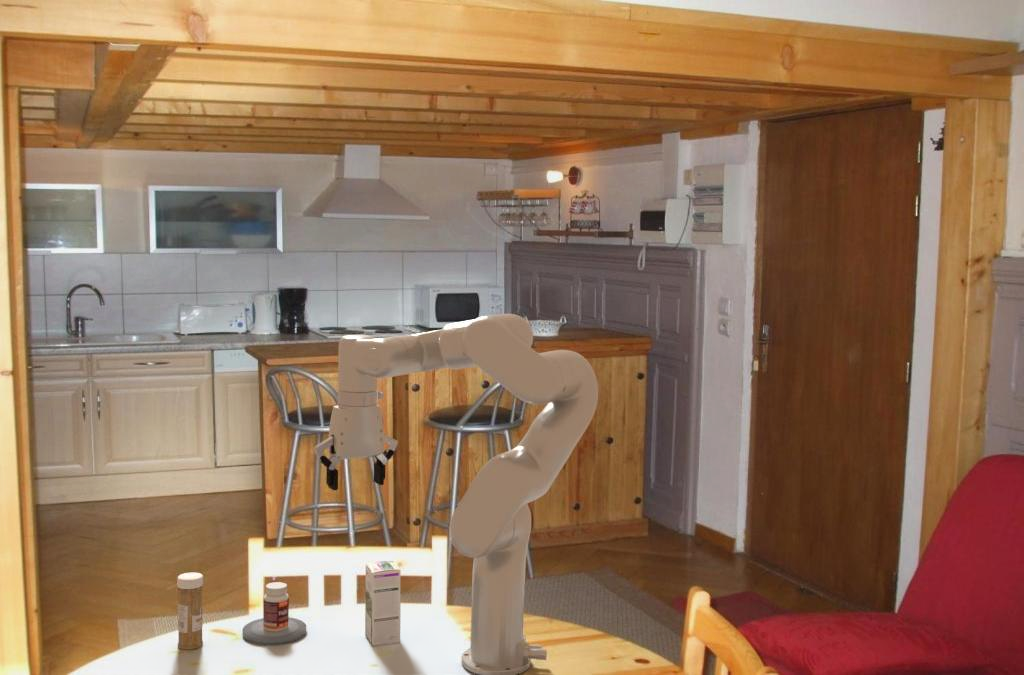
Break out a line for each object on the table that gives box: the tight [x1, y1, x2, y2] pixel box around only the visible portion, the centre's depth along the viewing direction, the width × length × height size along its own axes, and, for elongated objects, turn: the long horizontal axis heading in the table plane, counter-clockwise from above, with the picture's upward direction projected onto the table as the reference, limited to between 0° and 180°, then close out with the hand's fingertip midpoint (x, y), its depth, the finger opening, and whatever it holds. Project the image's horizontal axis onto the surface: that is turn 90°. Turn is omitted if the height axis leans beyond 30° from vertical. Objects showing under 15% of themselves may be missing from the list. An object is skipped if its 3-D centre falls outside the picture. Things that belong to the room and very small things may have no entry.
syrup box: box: [364, 560, 401, 647], centre depth 197 cm, size 6×6×14 cm
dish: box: [242, 616, 307, 646], centre depth 199 cm, size 12×12×1 cm
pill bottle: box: [262, 581, 290, 632], centre depth 199 cm, size 5×5×8 cm
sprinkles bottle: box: [176, 571, 204, 651], centre depth 191 cm, size 5×5×14 cm
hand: (356, 486), depth 201 cm, fingers open, 9 cm apart
